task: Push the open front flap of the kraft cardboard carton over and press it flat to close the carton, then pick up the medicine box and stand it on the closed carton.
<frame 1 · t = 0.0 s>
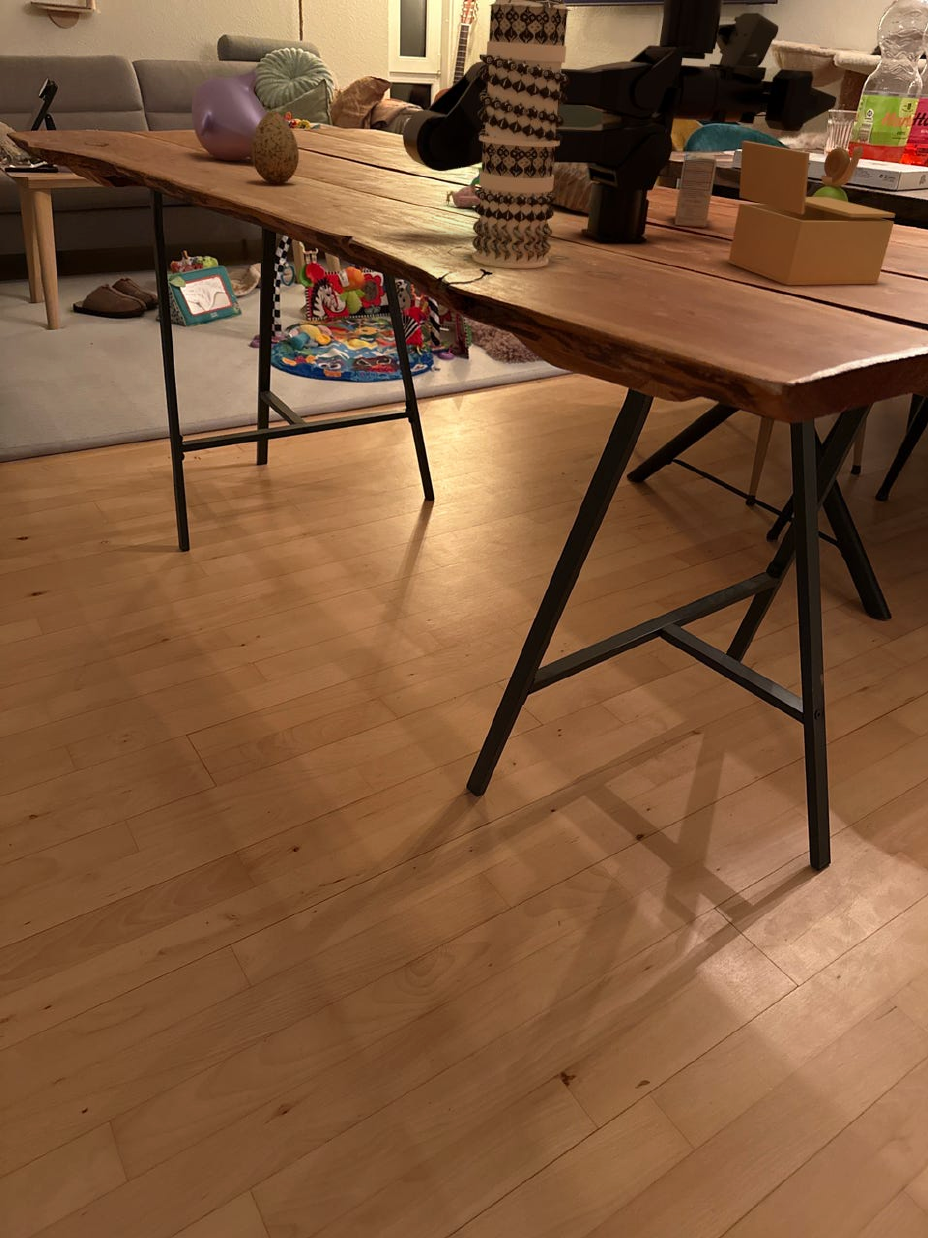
hand: (812, 99, 118), 17 cm above the table, tool horizontal, fingers open, 9 cm apart
toy whale: (237, 163, 166), on the table
snail figurine: (825, 227, 139), on the table
carton: (800, 272, 106), on the table
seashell: (581, 211, 139), on the table
pink radish: (487, 213, 132), on the table
decorative egg: (276, 184, 146), on the table
flap: (772, 176, 99), point 10 cm above the table, hinge at 100.0°
medicine box: (689, 224, 134), on the table
bracelet display stand: (509, 262, 103), on the table
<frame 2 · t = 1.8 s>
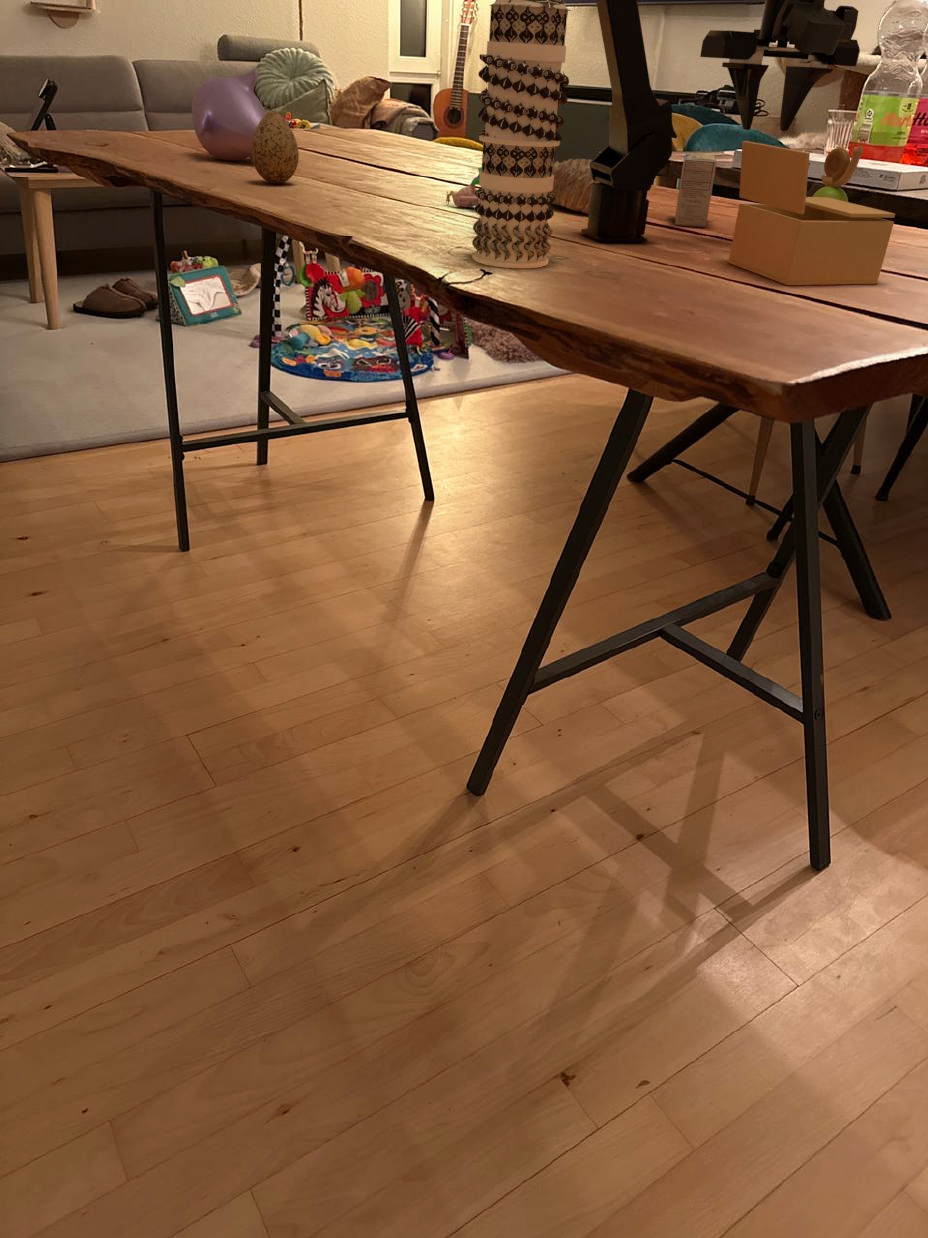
hand: (765, 130, 116), 13 cm above the table, tool pointing down, fingers open, 5 cm apart
nothing on the table moved.
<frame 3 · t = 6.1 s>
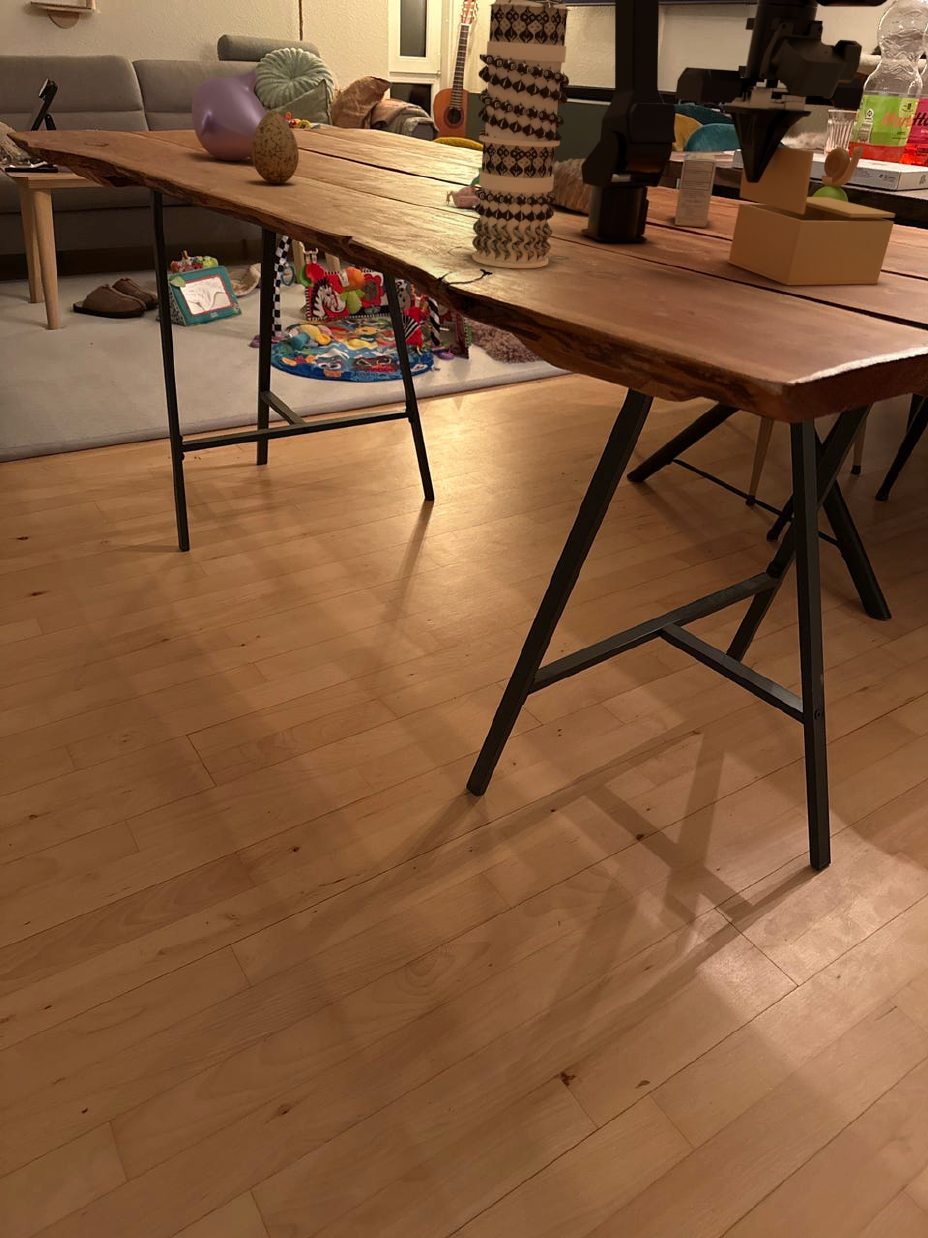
hand: (752, 182, 99), 9 cm above the table, tool pointing down, fingers closed
flap: (774, 175, 99), point 10 cm above the table, hinge at 95.3°, touching gripper
everything else where it was.
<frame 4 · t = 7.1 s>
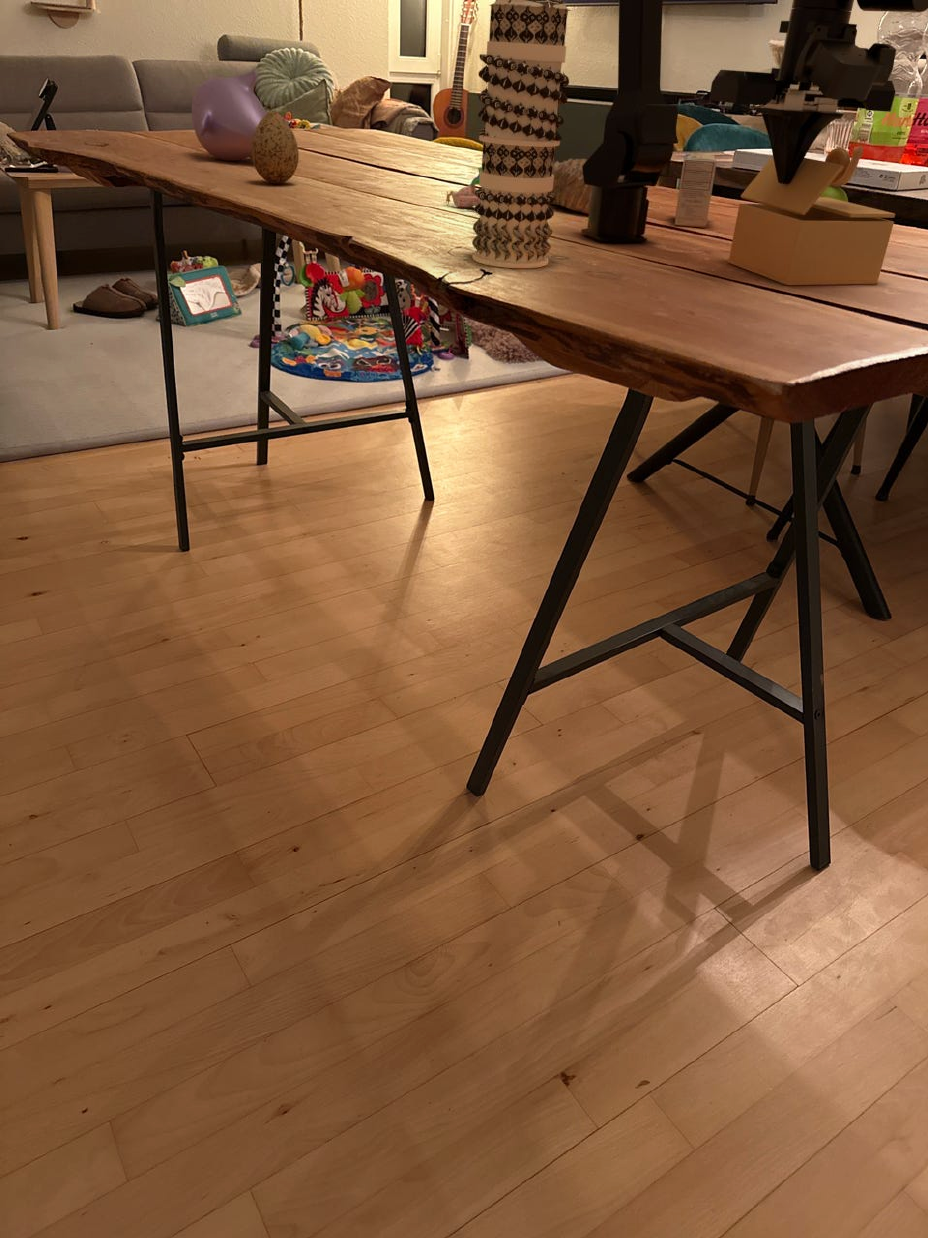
hand: (783, 183, 100), 9 cm above the table, tool pointing down, fingers closed
flap: (789, 182, 100), point 9 cm above the table, hinge at 52.6°, touching gripper
everything else where it was.
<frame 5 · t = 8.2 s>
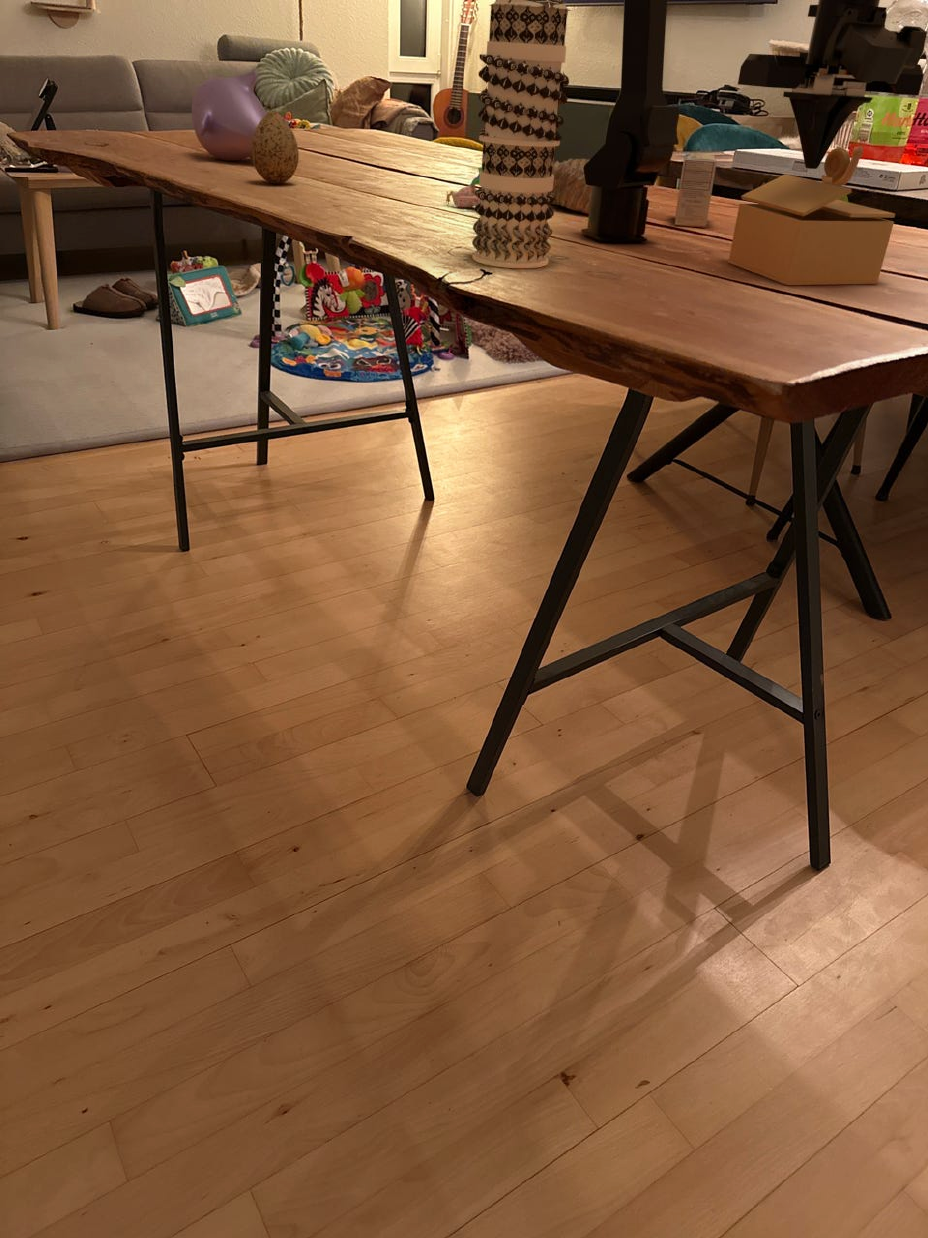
hand: (811, 168, 100), 11 cm above the table, tool pointing down, fingers closed
flap: (794, 194, 101), point 8 cm above the table, hinge at 24.0°
everything else where it was.
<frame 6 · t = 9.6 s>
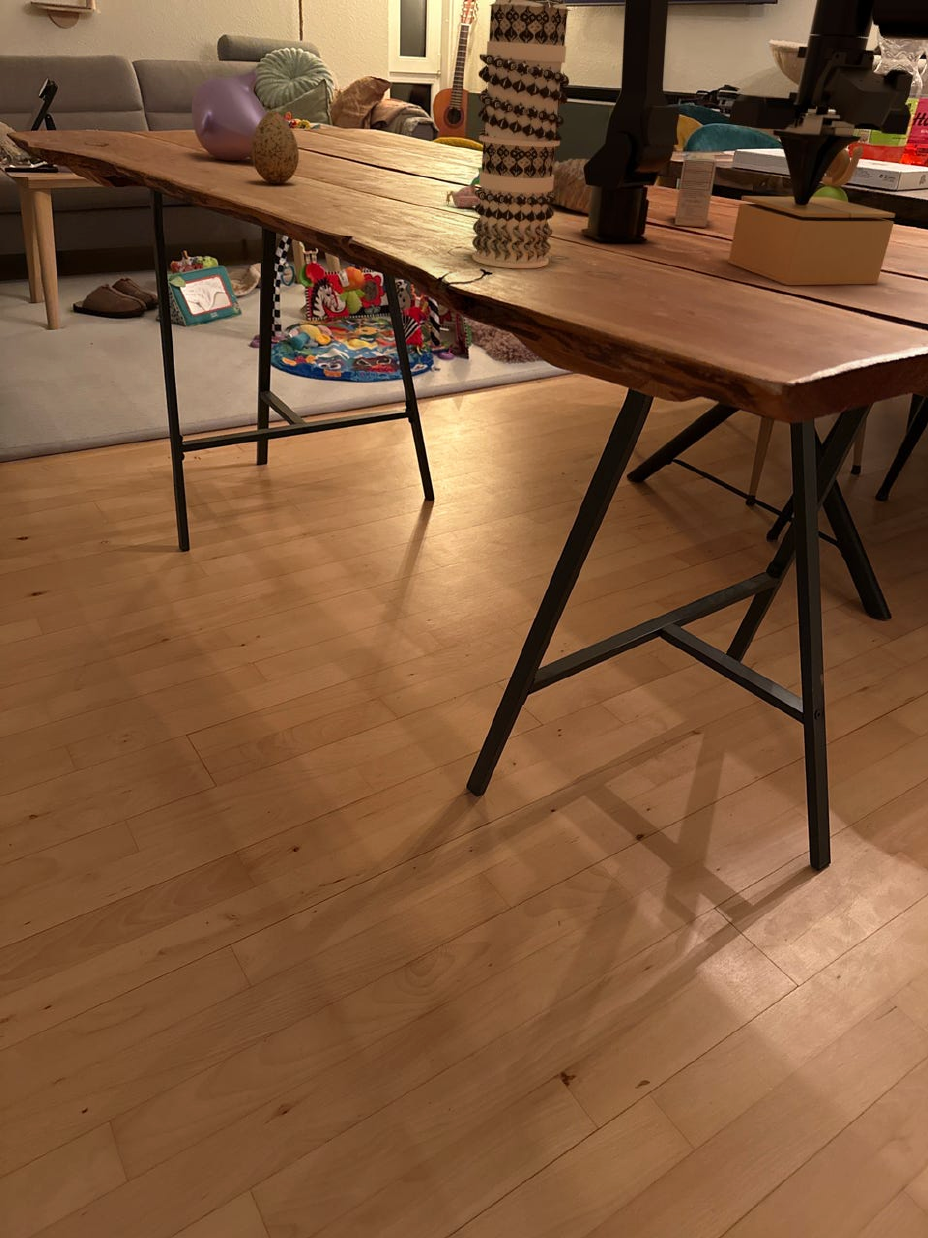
hand: (800, 204, 102), 7 cm above the table, tool pointing down, fingers closed, pressing on flap
flap: (793, 206, 102), point 7 cm above the table, hinge at -0.3°, touching gripper
everything else where it was.
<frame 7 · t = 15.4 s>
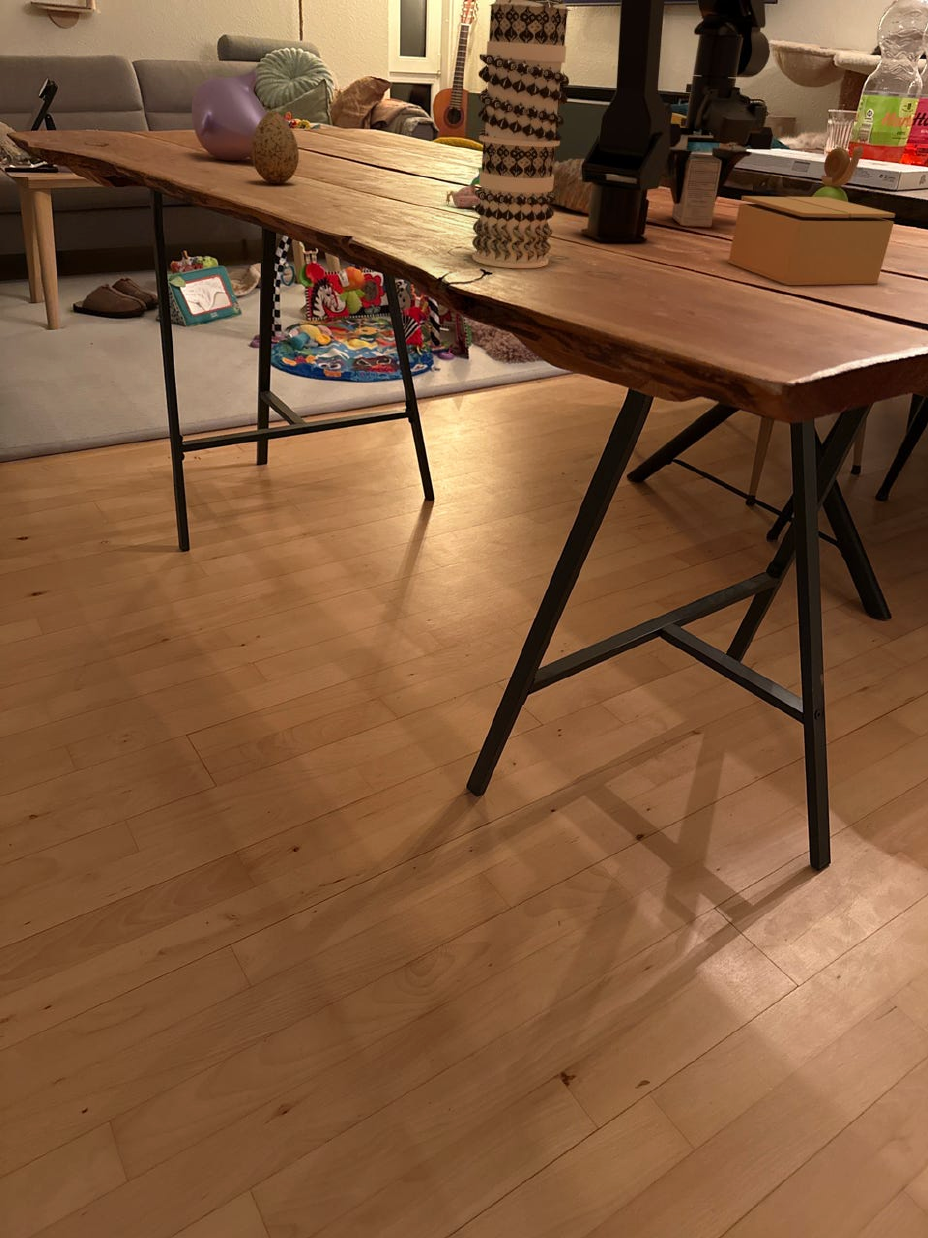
hand: (693, 203, 133), 3 cm above the table, tool pointing down, fingers closed on medicine box, 5 cm apart
flap: (793, 206, 102), point 7 cm above the table, hinge at -0.5°
medicine box: (690, 224, 134), on the table, touching gripper
everything else where it was.
when the fingers open (10 cm above the table, at t = 20.6 s): medicine box stays where it is, resting on carton, flap.
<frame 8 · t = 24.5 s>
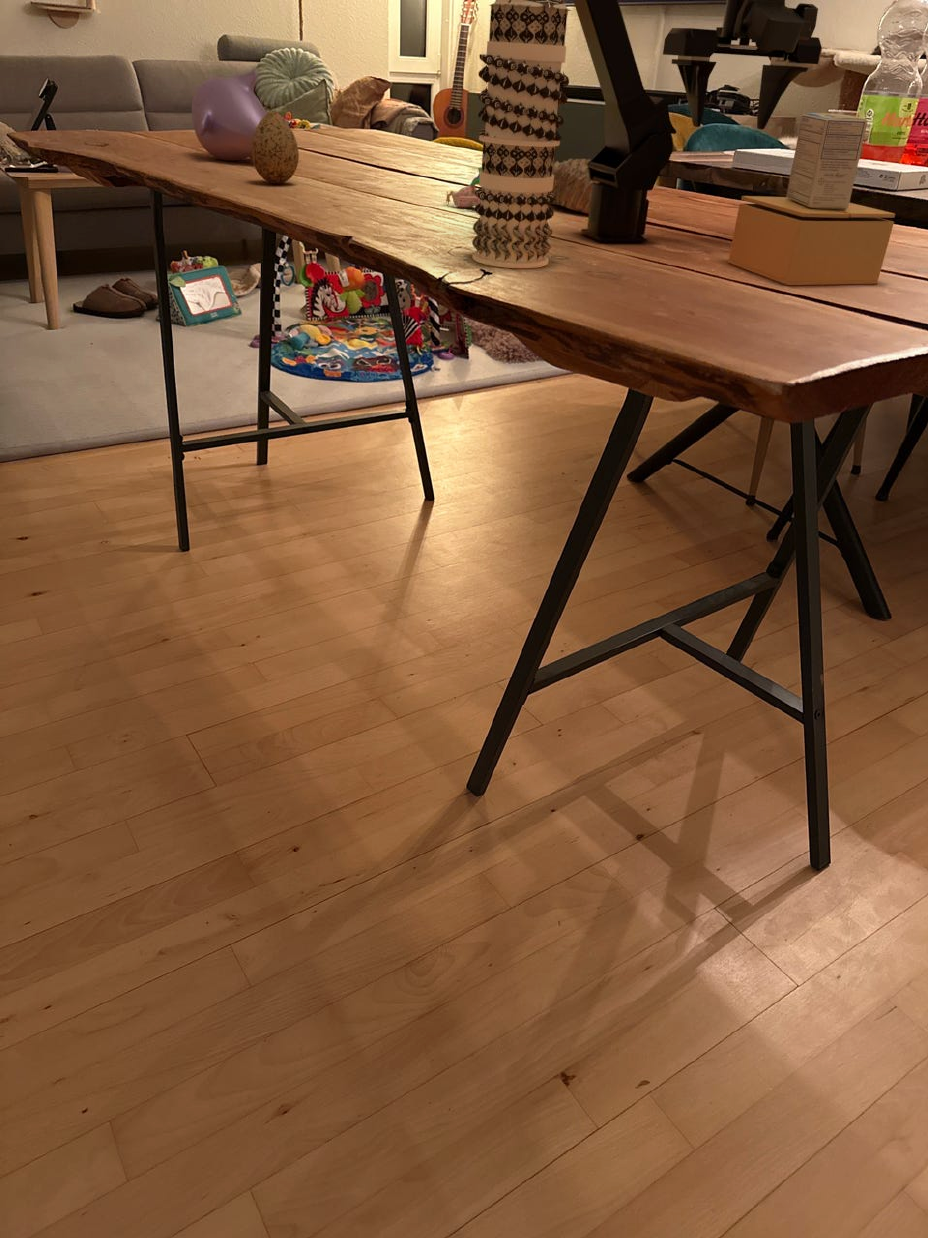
hand: (728, 127, 116), 13 cm above the table, tool pointing down, fingers open, 9 cm apart
flap: (793, 206, 102), point 7 cm above the table, hinge at -0.6°, touching medicine box
medicine box: (814, 206, 103), point 7 cm above the table, touching carton, flap
everything else where it was.
at the end: flap at -1° (first picture: +100°); medicine box inside the target area on the carton (0.1 cm from its centre), point 7.0 cm above the carton's base; medicine box tilted 1° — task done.
